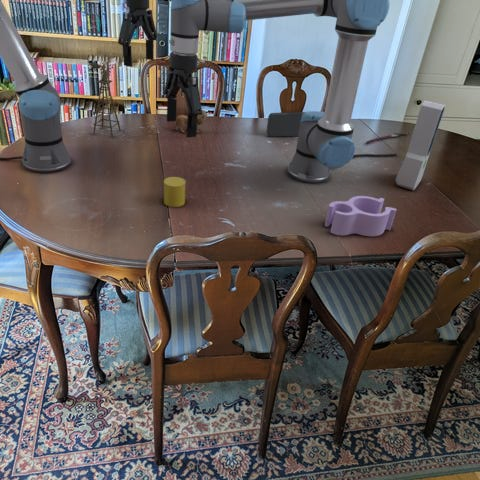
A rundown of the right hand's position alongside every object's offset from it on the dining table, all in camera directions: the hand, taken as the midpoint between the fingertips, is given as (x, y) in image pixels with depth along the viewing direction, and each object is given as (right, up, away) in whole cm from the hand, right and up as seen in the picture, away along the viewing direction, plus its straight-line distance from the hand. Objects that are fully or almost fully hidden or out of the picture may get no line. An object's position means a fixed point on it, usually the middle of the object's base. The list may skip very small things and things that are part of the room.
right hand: (181, 128), depth 138 cm
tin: (-3, -21, +8) cm, 23 cm away
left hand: (-18, +29, +26) cm, 43 cm away
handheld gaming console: (+40, +13, +68) cm, 80 cm away
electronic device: (+80, -12, +36) cm, 88 cm away
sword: (+85, +13, +76) cm, 114 cm away
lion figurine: (-4, +13, +61) cm, 63 cm away
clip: (+53, -29, +5) cm, 61 cm away
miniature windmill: (-36, +11, +51) cm, 64 cm away
